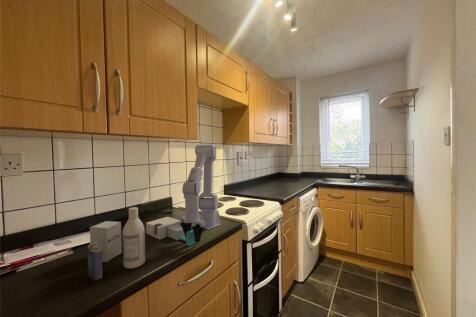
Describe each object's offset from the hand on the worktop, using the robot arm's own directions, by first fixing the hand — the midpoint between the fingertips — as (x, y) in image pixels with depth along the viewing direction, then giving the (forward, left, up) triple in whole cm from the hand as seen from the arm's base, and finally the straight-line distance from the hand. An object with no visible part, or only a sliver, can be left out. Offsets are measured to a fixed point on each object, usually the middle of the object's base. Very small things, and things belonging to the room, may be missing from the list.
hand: (192, 239), depth 88 cm
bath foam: (+23, -4, -2) cm, 23 cm away
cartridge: (0, -9, -2) cm, 9 cm away
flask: (+34, -8, -2) cm, 35 cm away
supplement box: (+27, -18, -2) cm, 33 cm away
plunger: (+4, -20, 0) cm, 20 cm away
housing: (0, -22, -2) cm, 22 cm away
